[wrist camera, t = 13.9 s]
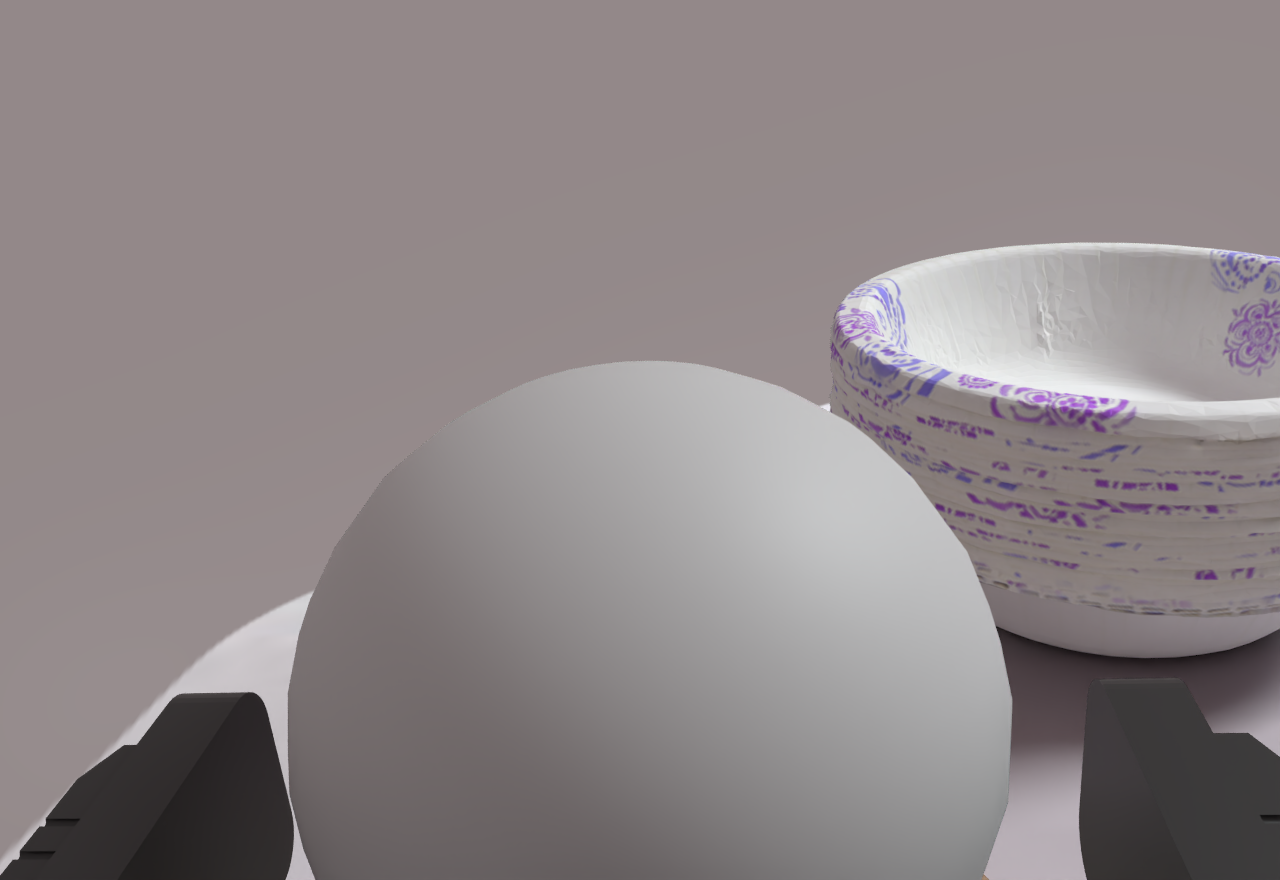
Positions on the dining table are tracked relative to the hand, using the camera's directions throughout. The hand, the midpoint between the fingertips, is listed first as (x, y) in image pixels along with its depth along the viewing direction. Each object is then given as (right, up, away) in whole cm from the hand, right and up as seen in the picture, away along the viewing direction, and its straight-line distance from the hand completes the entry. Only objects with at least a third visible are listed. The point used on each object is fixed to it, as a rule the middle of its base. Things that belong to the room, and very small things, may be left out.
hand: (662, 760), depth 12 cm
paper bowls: (+13, -1, +23) cm, 26 cm away
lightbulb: (+1, -7, +2) cm, 7 cm away
